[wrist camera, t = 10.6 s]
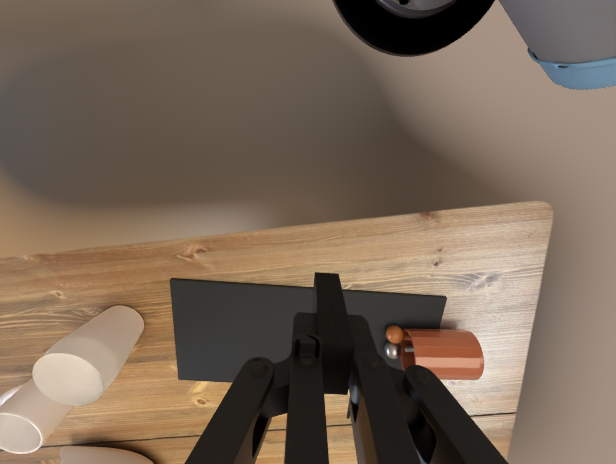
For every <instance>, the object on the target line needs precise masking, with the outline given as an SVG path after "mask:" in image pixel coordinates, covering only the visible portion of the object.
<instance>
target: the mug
mask: <svg viewBox="0 0 616 464" xmlns="http://www.w3.org/2000/svg"><path fill="white" fill-rule="evenodd" d="M73 408H74V406H69V405H65V404H61V403H58V402H56V401H54V400H52V399H50V398H49V397H47V396H46V395H44V394H43V393H42V392H41V391H40V390H39V388H38V387H37V386H36V384H35V382H34V380H33V377H32V378H31V379H30V380H29V381H28V382H27V383H25V384H22V385H19V386H16V387H14V388H12V389H10V390H8V391H6V392H4V393H3V394H1V395H0V449H3V450H5V451H8V452H12V453H18V454H25V453H31V452H34V451H36V450H37V449H38V448H40V447H41V445H42V444H43V443H44V442H45V441H46V440H47V438H48V437H49V436H50V435H51V434H52V432H53V431H54V430H55V429H56V428H57V427H58V425H59V424H60V423H61V422H62V421H63V419H64V418H65V417H66V416H67V415H68V414H69V412H70V411H71V410H72V409H73Z"/></svg>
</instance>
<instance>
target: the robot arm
mask: <svg viewBox="0 0 616 464" xmlns="http://www.w3.org/2000/svg"><path fill="white" fill-rule="evenodd" d="M374 1H375V3H376V4H377V5H378V6H379V7H381V8H382V9H383V10H384V11H386V12H387V13H389V14H391V15H393V16H395V17H398V18H402V19H407V20H419V19H425V18H429V17H432V16H435V15H437V14H439V13H441V12H442V11H444V10H446V9H447V8H448V7H450V6H451V5H452V4H454V3H455V2H456V1H457V0H374ZM499 1H500V3H501V5H502V6H503V8H504V9H505V11H506V12H507V14H508V16H509V17H510V19H511V21H512V22H513V24H514V25H515V27H516V28H517V30H518V32H519V33H520V35H521V36H522V38H523V40H524V41H525V43H526V44H527V46H528V53H529V55H530V56H531V58H532V59H533V60H534V61H536V62H537V63H539V64H540V65H541V67H542V68H543V69H544V71H545V72H546V74H547V75H548V77H549V78H550V79H551V80H552V81H553V82H554V83H556V84H558V85H561V86H563V87H566V88H569V89H577V90H588V89H599V88H605V87H610V86H615V85H616V0H499ZM348 387H349V391H350V399H349V405H348V411H347V419H349V417H350V416H351V422H352V429H353V435H354V442H355V448H356V455H357V461H358V464H508V462H507V461H506V460H505V459H504V458H503V456H502V455H501V454H500V453H499V452H498V450H497V449H496V448H495V447H494V445H493V444H492V443H491V442H490V441H489V439H488V438H487V437H486V436H485V435H484V433H483V432H482V431H481V430H480V428H479V427H478V426H477V425H476V424H475V422H474V421H473V420H472V419H471V417H470V416H469V415H468V414H467V413H466V411H465V410H464V409H463V408H462V407H461V405H460V404H459V403H458V402H457V400H456V399H455V398H454V397H453V396H452V394H451V393H450V392H449V391H448V389H447V388H446V387H445V386H444V385H443V383H442V382H441V381H440V380H439V379H438V377H437V376H436V375H435V374H434V373H433V372H432V371H431V370H429V369H428V368H426V367H424V366H421V365H410V366H408V367H407V368H406V370H405V371H403V370H400V369H396V368H394V367H391V366H389V365H388V364H386V361H385V360H384V358H383V357H382V356H381V355H379V354H378V352H377V349H376V346H375V343H374V340H373V337H372V335H371V330H370V327H369V324H368V321H367V320H366V319H365V318H364V317H363V316H362V315H350V314H348V313H347V309H346V305H345V300H344V296H343V292H342V287H341V283H340V279H339V274H332V273H317V272H315V278H314V288H313V299H312V313H306V312H297V314H296V315H295V316H294V319H293V333H292V348H291V354H290V355H289V357H288V358H286V359H285V360H283V361H281V362H278V363H272V362H271V361H270V360H269V359H267V358H265V357H255V358H251V359H250V360H248V361H247V362H246V363H245V364H244V365H243V366H242V368H241V370H240V372H239V373H238V375H237V377H236V378H235V380H234V382H233V383H232V385H231V387H230V388H229V390H228V392H227V393H226V395H225V397H224V398H223V400H222V402H221V403H220V405H219V407H218V408H217V410H216V412H215V413H214V415H213V417H212V418H211V420H210V422H209V424H208V425H207V427H206V429H205V430H204V432H203V434H202V435H201V437H200V439H199V440H198V442H197V444H196V445H195V447H194V449H193V450H192V452H191V454H190V455H189V457H188V459H187V460H186V462H185V464H255V462H256V459H257V456H258V454H259V451H260V449H261V446H262V443H263V441H264V438H265V435H266V433H267V430H268V428H269V425H270V422H271V419H272V417H274V416H278V415H282V414H285V413H287V425H286V441H285V457H284V464H329V457H328V443H327V430H326V416H325V402H324V394H342V395H347V393H348Z"/></svg>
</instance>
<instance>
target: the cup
mask: <svg viewBox="0 0 616 464" xmlns="http://www.w3.org/2000/svg"><path fill="white" fill-rule="evenodd" d="M143 330H144V321H143V319H142V317H141V316H140V314H139V313H138V312H137V311H135V310H134V309H132V308H130V307H127V306H121V305H118V306H113V307H110V308H109V309H107V310H106V311H104V312H102V313H101V314H99V315H98V316H96V317H95V318H93V319H92V320H90V321H88V322H87V323H85V324H84V325H82V326H81V327H79V328H77V329H76V330H74V331H73V332H71V333H70V334H68V335H67V336H65V337H63V338H62V339H60V340H59V341H58V342H56V343H55V344H54V345H53V346H52V347H51V348H50V349H49V350H48V351H47V352H46V353H45V354H44V355H43V356H42V357H41V358H40V359H39V360H38V361H37V362H36V363H35V364H34V367H33V371H32V375H33V380H34V382H35V384H36V386H37V387H38V388H39V390H40V391H41V392H42V393H43V394H44V395H46V396H47V397H49V398H50V399H52V400H54V401H56V402H58V403H61V404H65V405H69V406H84V405H88V404H91V403H93V402H95V401H96V400H97V399H98V398H99V397H100V396H101V395H102V394H103V392H104V391H105V390H106V389H107V388H108V387H109V386H110V384H111V383H112V382H113V381H114V380H115V379H116V377H117V376H118V374H119V372H120V371H121V369H122V367H123V365H124V364H125V362H126V360H127V358H128V357H129V355H130V353H131V351H132V349H133V348H134V346H135V344H136V342H137V341H138V339H139V337H140V335H141V334H142V332H143Z"/></svg>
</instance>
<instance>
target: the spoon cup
mask: <svg viewBox="0 0 616 464" xmlns="http://www.w3.org/2000/svg"><path fill="white" fill-rule="evenodd" d="M402 331H403V334H404V335H406V334H407V335H409V336H410V337H411V340H412V341H408V340H405V339H404V337H403V340H402V341H401V342H400V343H399V344H400V345H401V348H402V354H401V356H400V360H401V364H402V368H403V370H404V371H405V370H406V368H407V367H408V366H410V365H421V366H424V367H426V368H428V369H429V370H431V371H432V372H433V373H434V374H435V375H436V376H437V377H438V379H446V380H477V379H479V378H480V377H481V375H482V373H483V369H484V358H483V353H482V349H481V346H480V344H479V342H478V340H477V338H476V337H475V335H474V334H473V333H471V332H470V331H468V330H448V329H403V330H402ZM405 346H413V347H414V352H405V351H404V347H405Z"/></svg>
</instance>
